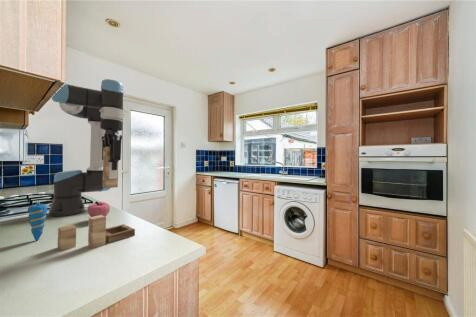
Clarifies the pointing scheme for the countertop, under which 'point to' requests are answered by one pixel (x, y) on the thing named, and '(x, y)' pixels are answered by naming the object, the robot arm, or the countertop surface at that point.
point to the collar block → (119, 233)
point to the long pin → (106, 181)
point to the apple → (98, 209)
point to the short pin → (66, 237)
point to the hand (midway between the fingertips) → (110, 178)
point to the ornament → (37, 219)
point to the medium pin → (97, 231)
